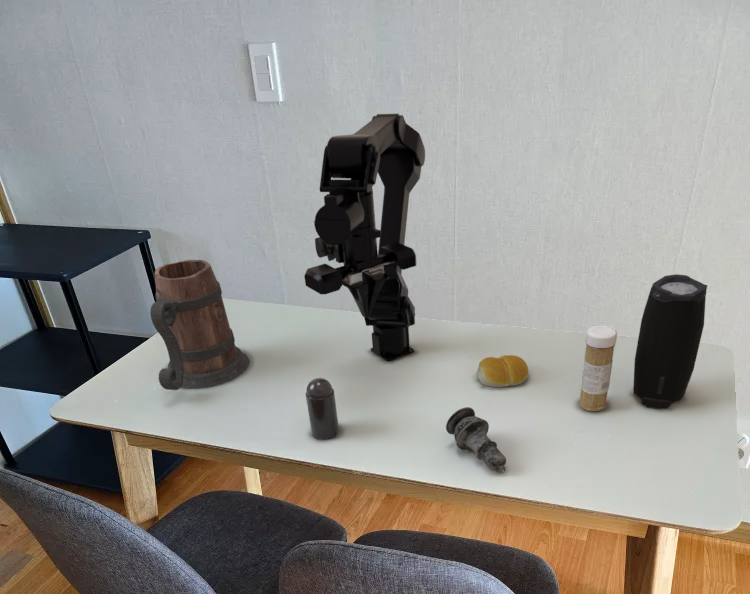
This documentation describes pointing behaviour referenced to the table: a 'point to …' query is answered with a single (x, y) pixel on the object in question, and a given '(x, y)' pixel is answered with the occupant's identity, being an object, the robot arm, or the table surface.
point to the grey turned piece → (475, 437)
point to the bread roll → (502, 371)
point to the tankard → (194, 327)
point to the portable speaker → (669, 340)
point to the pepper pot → (322, 409)
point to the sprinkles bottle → (597, 367)
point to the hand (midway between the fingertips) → (365, 316)
